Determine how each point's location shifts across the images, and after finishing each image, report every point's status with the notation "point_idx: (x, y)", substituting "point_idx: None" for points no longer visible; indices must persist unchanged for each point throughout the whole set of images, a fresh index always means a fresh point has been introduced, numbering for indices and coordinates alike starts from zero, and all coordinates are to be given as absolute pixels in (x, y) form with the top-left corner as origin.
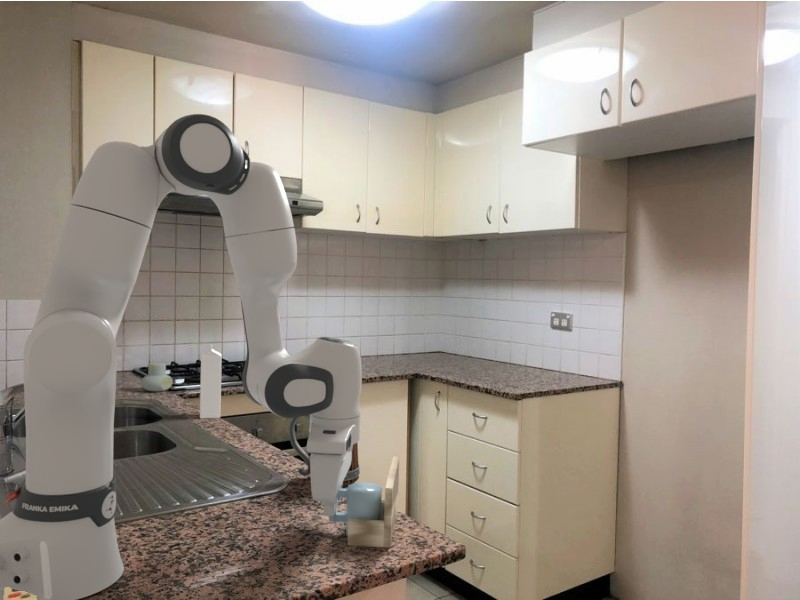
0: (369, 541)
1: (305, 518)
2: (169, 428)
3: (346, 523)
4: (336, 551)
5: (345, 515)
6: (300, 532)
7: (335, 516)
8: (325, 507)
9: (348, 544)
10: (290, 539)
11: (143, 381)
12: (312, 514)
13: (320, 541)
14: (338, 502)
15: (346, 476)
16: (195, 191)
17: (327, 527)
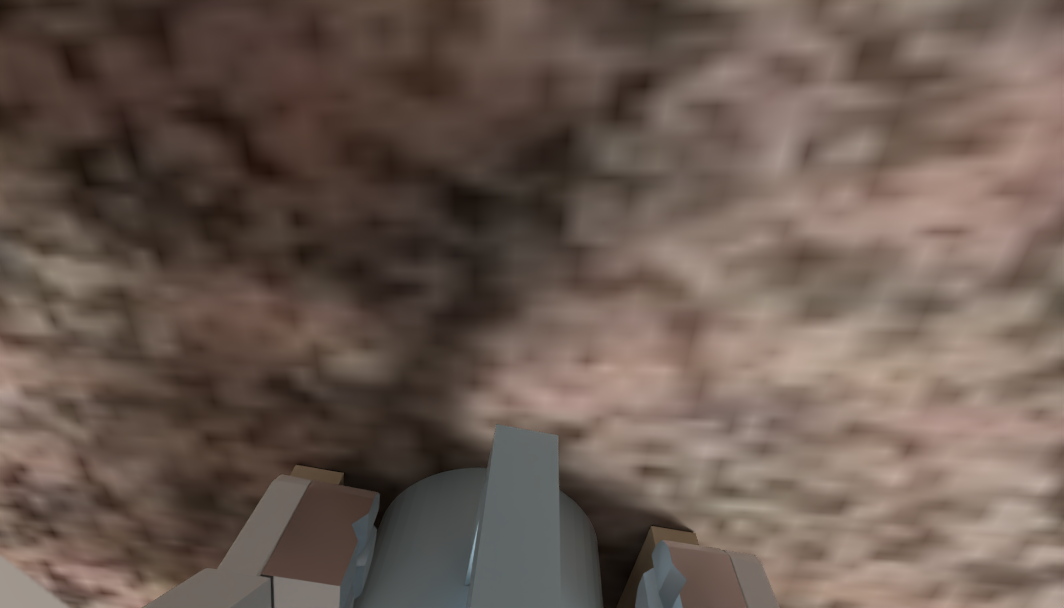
0: None
1: (839, 183)
2: None
3: (467, 527)
4: (192, 400)
5: (467, 577)
6: (512, 140)
7: (481, 502)
8: (230, 556)
9: (292, 473)
10: (351, 42)
11: None
12: (917, 248)
13: (337, 305)
14: (638, 600)
15: None
16: None
17: (599, 360)
